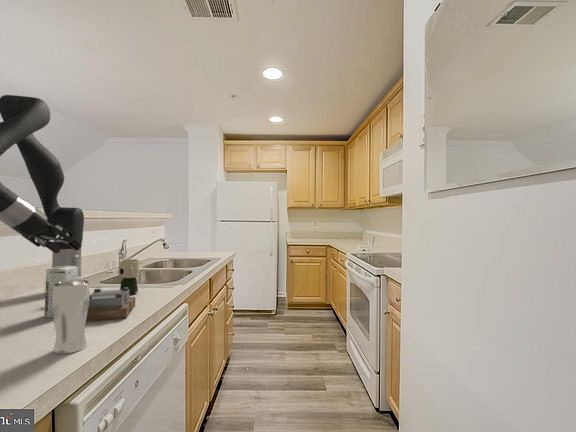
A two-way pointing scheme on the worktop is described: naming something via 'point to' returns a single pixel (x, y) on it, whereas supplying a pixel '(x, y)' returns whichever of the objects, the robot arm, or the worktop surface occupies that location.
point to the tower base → (111, 312)
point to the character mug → (129, 274)
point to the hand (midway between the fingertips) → (69, 249)
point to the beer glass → (70, 315)
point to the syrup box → (55, 277)
